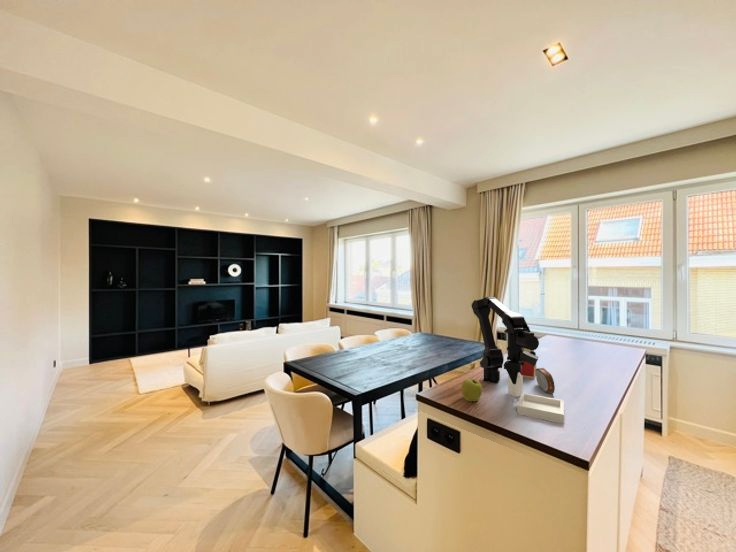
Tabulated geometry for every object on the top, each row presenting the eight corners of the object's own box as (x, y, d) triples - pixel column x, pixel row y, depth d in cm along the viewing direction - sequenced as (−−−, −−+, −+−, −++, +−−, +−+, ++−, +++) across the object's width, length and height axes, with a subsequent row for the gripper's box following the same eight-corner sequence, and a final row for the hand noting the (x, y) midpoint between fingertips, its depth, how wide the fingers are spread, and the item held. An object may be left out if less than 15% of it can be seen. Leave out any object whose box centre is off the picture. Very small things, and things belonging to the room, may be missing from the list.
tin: (555, 396, 124) (555, 376, 124) (547, 396, 124) (546, 375, 124) (542, 383, 138) (541, 365, 139) (534, 383, 139) (534, 365, 139)
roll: (510, 362, 131) (524, 365, 127) (510, 390, 131) (524, 393, 127) (506, 365, 126) (520, 368, 123) (506, 394, 126) (521, 397, 123)
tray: (517, 413, 108) (517, 405, 108) (521, 400, 120) (521, 392, 120) (563, 423, 101) (563, 414, 101) (563, 408, 113) (563, 400, 113)
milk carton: (536, 373, 153) (536, 334, 153) (535, 378, 145) (534, 337, 145) (516, 370, 158) (516, 332, 158) (514, 375, 150) (514, 335, 150)
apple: (454, 396, 123) (460, 371, 124) (469, 398, 126) (474, 375, 127) (468, 403, 115) (474, 377, 117) (483, 406, 118) (489, 380, 120)
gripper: (534, 352, 115) (535, 392, 115) (538, 342, 130) (538, 378, 130) (503, 348, 121) (503, 387, 121) (510, 340, 136) (510, 374, 136)
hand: (515, 381), depth 127 cm, fingers closed on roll, 6 cm apart
